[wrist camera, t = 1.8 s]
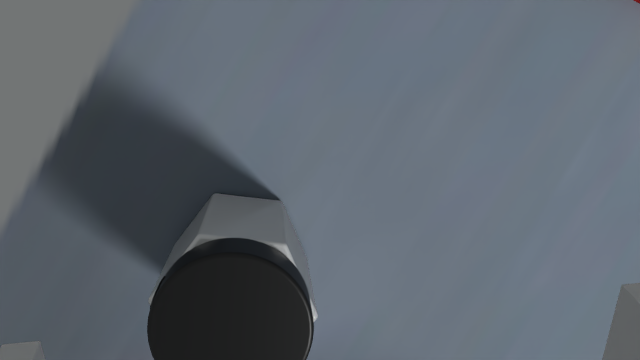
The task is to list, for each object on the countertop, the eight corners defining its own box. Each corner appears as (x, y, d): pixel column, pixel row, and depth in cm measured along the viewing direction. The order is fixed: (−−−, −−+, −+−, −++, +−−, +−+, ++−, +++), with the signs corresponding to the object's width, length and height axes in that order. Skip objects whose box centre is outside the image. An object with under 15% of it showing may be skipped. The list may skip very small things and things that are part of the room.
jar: (156, 216, 40) (111, 285, 29) (270, 169, 40) (271, 218, 29) (212, 330, 42) (192, 438, 31) (321, 285, 42) (341, 376, 31)
